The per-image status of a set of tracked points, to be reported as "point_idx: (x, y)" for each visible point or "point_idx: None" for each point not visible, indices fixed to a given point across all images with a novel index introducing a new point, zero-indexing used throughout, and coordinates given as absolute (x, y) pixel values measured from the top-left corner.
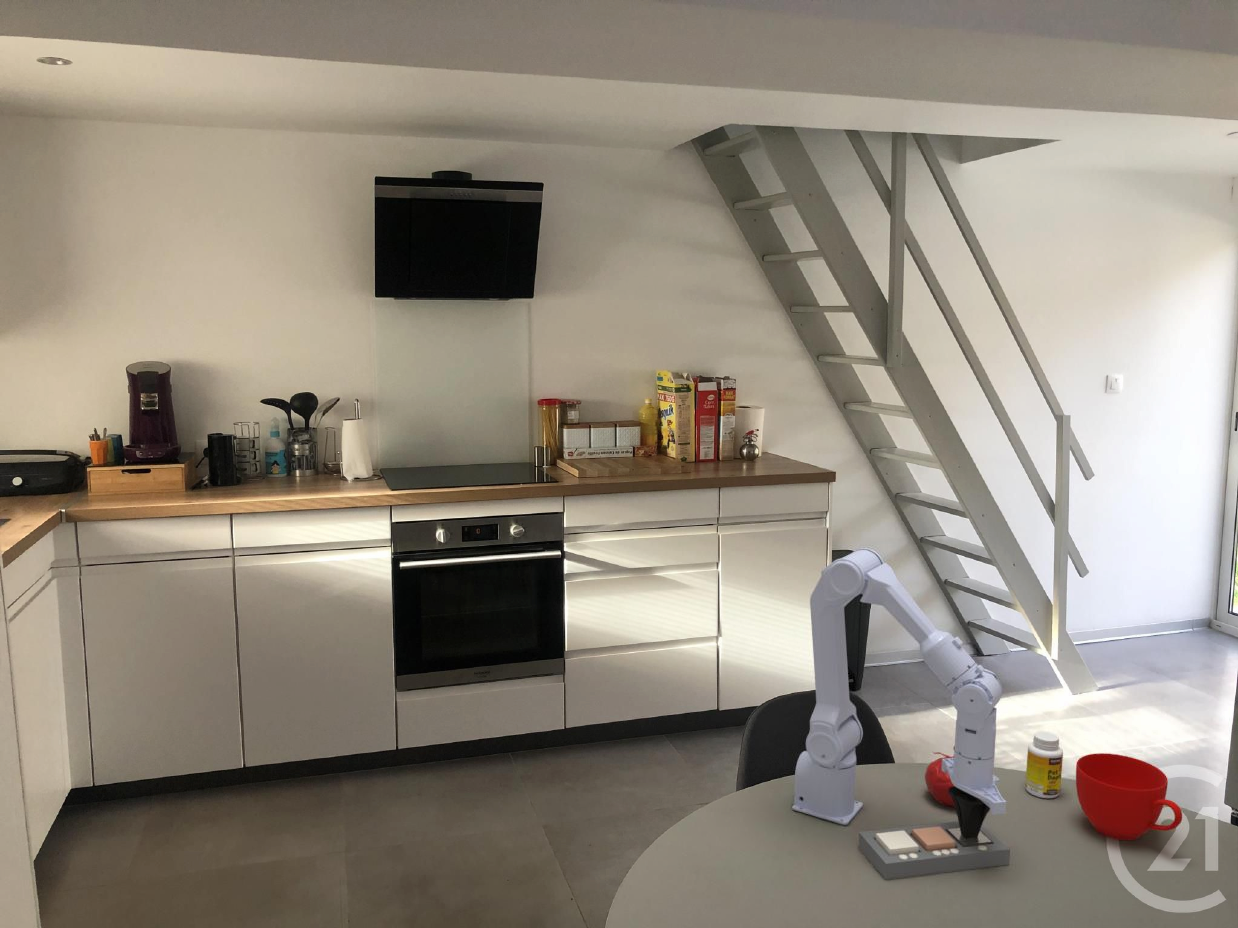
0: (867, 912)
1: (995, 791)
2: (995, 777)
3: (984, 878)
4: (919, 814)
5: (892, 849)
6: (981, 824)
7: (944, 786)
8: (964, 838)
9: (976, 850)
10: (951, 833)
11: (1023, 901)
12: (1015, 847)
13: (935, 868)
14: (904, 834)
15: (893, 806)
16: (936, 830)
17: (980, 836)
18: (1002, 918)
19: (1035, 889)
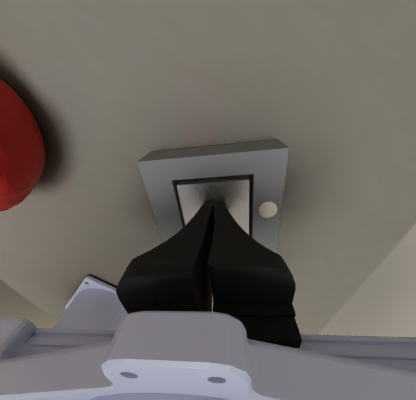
0: (311, 329)
1: (382, 394)
2: (185, 371)
3: (302, 206)
4: (93, 218)
5: None
6: (230, 214)
7: (10, 199)
8: None
9: (270, 221)
10: None
11: (397, 176)
12: (211, 81)
13: None
14: (212, 304)
15: (77, 242)
16: None
17: (223, 193)
18: (410, 229)
19: (381, 129)
